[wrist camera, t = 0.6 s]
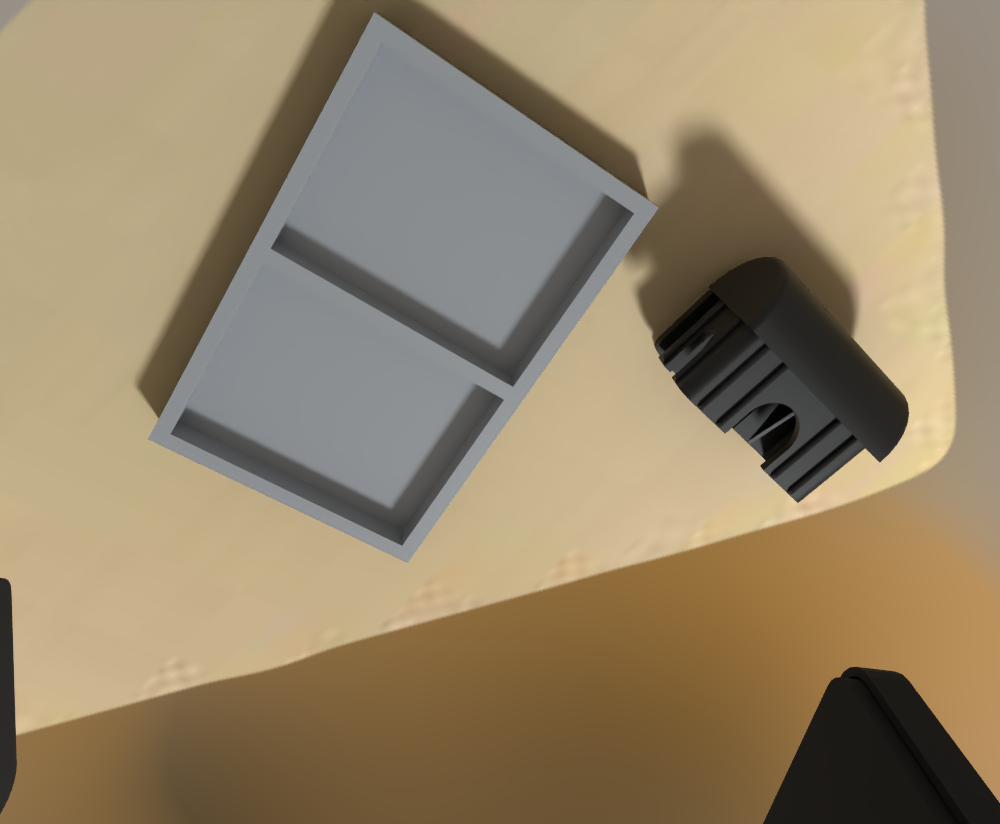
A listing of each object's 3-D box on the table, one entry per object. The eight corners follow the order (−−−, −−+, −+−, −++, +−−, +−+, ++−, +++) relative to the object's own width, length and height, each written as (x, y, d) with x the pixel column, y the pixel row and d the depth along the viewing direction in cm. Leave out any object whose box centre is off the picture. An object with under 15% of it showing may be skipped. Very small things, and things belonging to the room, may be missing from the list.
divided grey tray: (377, 12, 35) (374, 12, 33) (648, 199, 39) (658, 207, 37) (160, 421, 42) (148, 439, 40) (408, 541, 46) (407, 562, 45)
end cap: (866, 365, 44) (936, 420, 38) (762, 453, 46) (813, 519, 40) (750, 237, 40) (806, 275, 34) (643, 338, 42) (678, 392, 36)
